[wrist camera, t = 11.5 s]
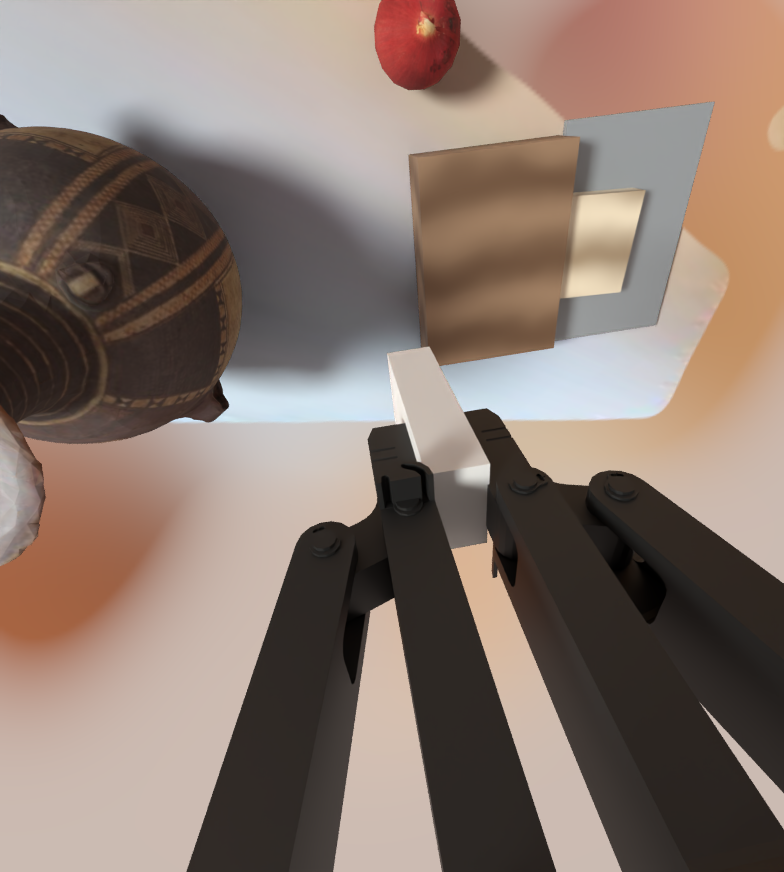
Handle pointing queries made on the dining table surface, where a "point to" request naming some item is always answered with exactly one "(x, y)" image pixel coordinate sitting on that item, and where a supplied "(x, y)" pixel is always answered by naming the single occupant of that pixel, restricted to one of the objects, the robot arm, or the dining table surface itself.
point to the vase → (101, 305)
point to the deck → (491, 245)
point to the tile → (600, 240)
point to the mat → (660, 213)
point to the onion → (417, 40)
